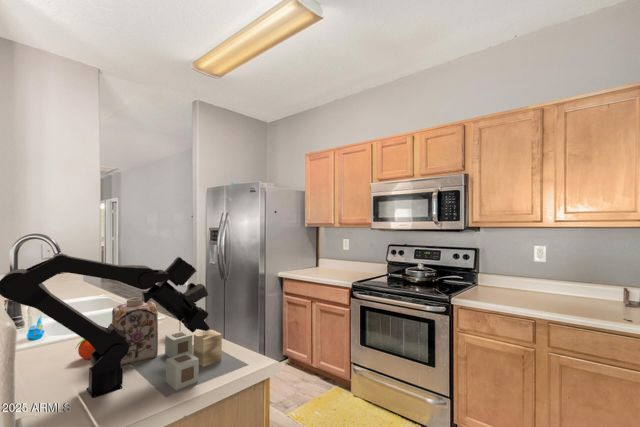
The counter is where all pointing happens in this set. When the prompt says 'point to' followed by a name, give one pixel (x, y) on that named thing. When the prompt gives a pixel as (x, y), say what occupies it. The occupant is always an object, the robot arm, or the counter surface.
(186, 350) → the brown paneled pale cube
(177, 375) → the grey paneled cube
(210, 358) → the plain maple block
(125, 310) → the decorative jar
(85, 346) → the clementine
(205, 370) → the slate rubber mat
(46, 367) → the counter surface
